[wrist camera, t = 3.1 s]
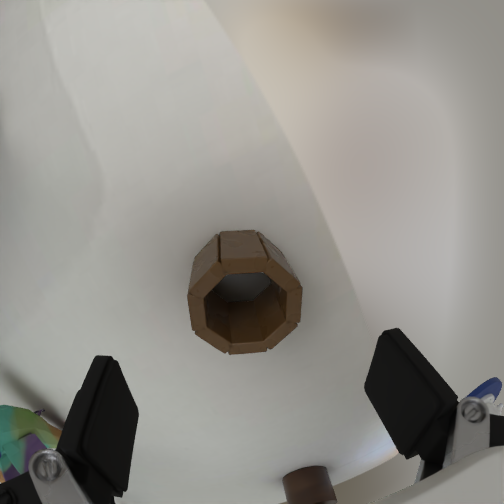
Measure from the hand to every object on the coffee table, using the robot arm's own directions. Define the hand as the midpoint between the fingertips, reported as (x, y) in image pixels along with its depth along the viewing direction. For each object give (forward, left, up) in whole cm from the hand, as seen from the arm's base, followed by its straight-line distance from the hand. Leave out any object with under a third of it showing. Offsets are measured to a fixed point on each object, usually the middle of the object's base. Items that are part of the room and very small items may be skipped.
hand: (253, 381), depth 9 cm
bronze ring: (0, 0, -10) cm, 10 cm away
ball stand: (-8, +33, -10) cm, 35 cm away
